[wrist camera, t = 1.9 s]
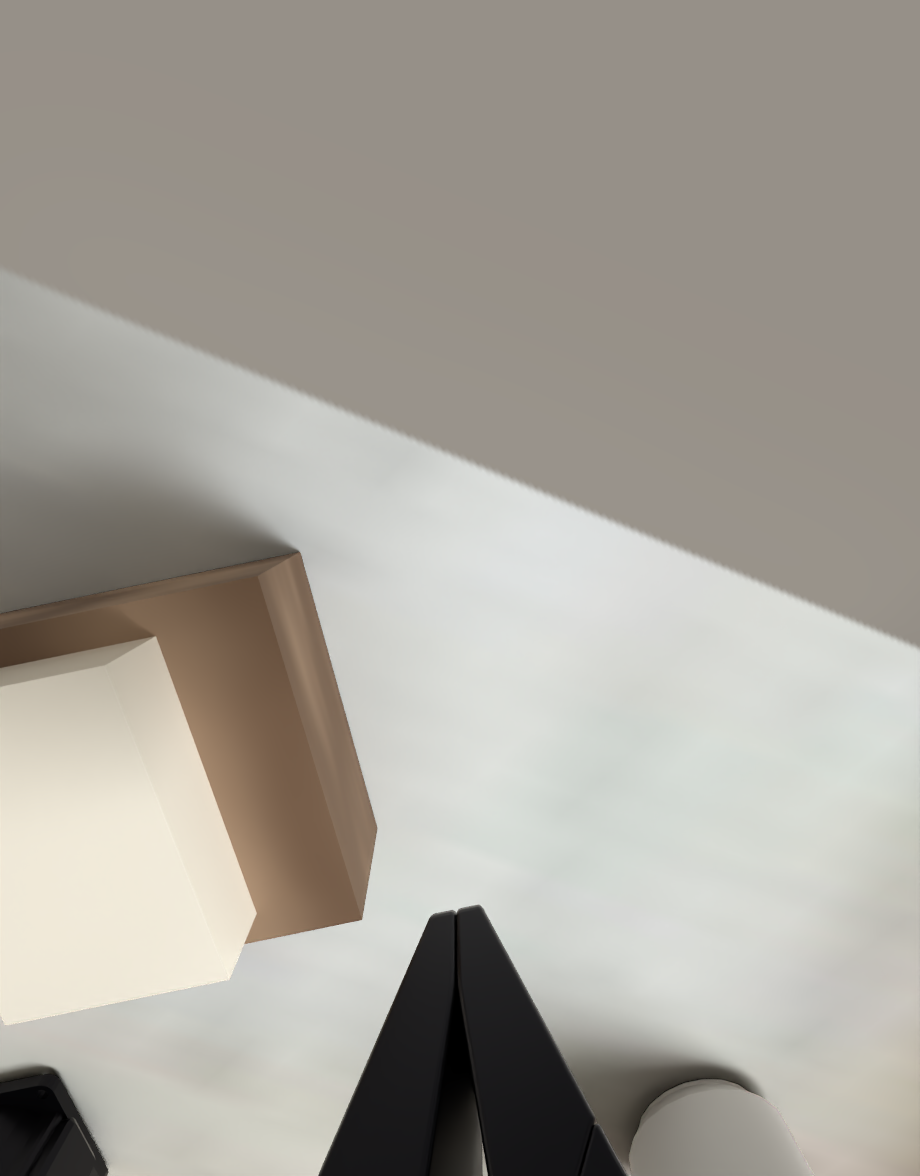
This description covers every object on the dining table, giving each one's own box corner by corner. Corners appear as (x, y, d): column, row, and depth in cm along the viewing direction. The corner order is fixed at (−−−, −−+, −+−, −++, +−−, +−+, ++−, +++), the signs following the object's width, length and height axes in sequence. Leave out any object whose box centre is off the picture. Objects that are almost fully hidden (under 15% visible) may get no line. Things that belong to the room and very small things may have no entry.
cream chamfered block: (62, 953, 15) (5, 1025, 13) (-71, 683, 13) (-162, 720, 11) (256, 913, 15) (229, 979, 13) (155, 636, 13) (105, 665, 11)
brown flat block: (22, 901, 19) (-85, 1011, 15) (-110, 636, 16) (-280, 686, 13) (377, 828, 19) (361, 919, 15) (300, 552, 16) (257, 576, 13)
